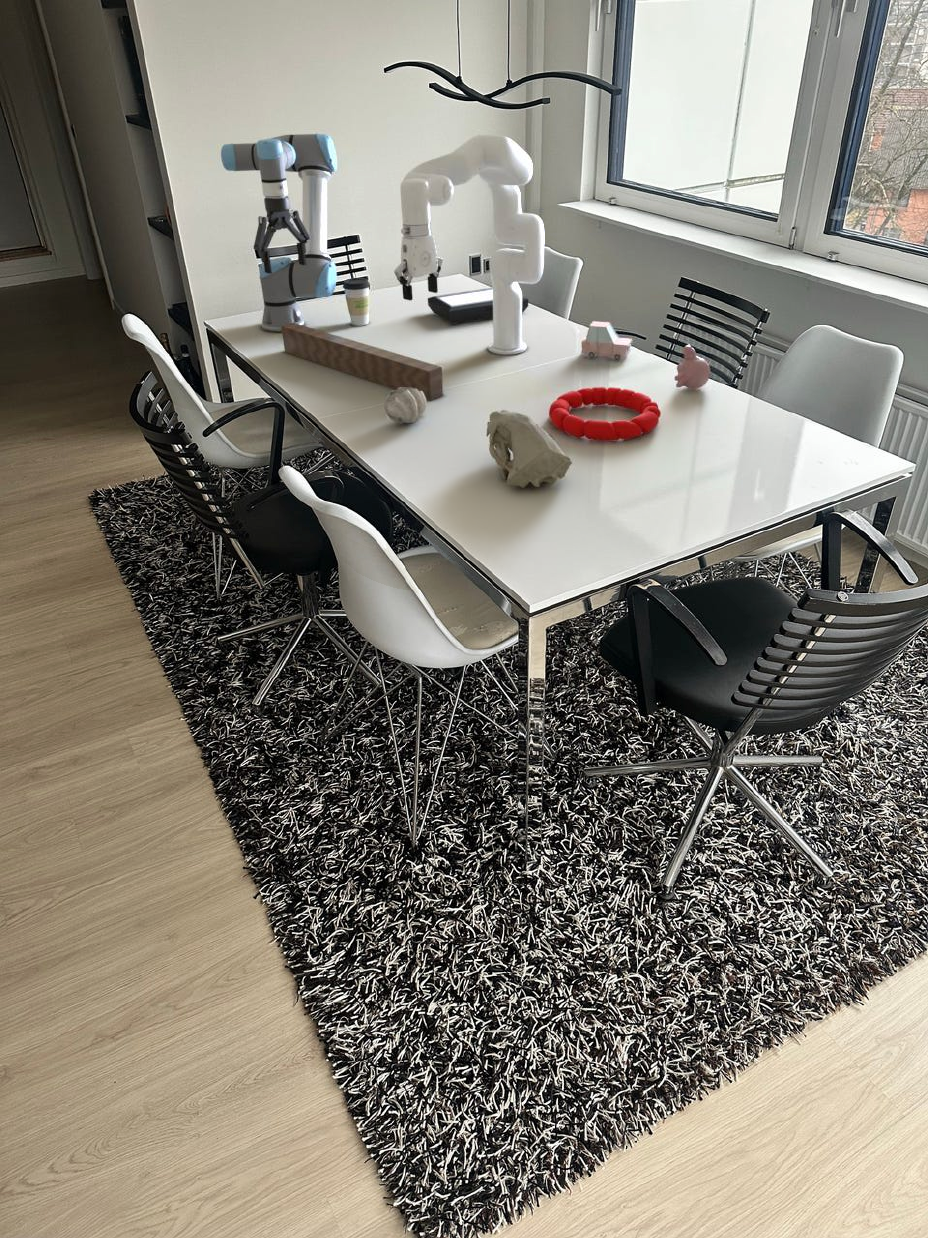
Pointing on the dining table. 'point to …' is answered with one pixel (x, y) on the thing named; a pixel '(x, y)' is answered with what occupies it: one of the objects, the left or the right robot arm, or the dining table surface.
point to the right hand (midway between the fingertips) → (420, 295)
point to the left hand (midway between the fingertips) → (285, 268)
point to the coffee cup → (357, 300)
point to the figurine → (692, 370)
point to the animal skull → (525, 450)
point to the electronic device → (466, 306)
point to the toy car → (605, 342)
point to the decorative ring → (604, 428)
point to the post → (363, 360)
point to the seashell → (405, 405)
